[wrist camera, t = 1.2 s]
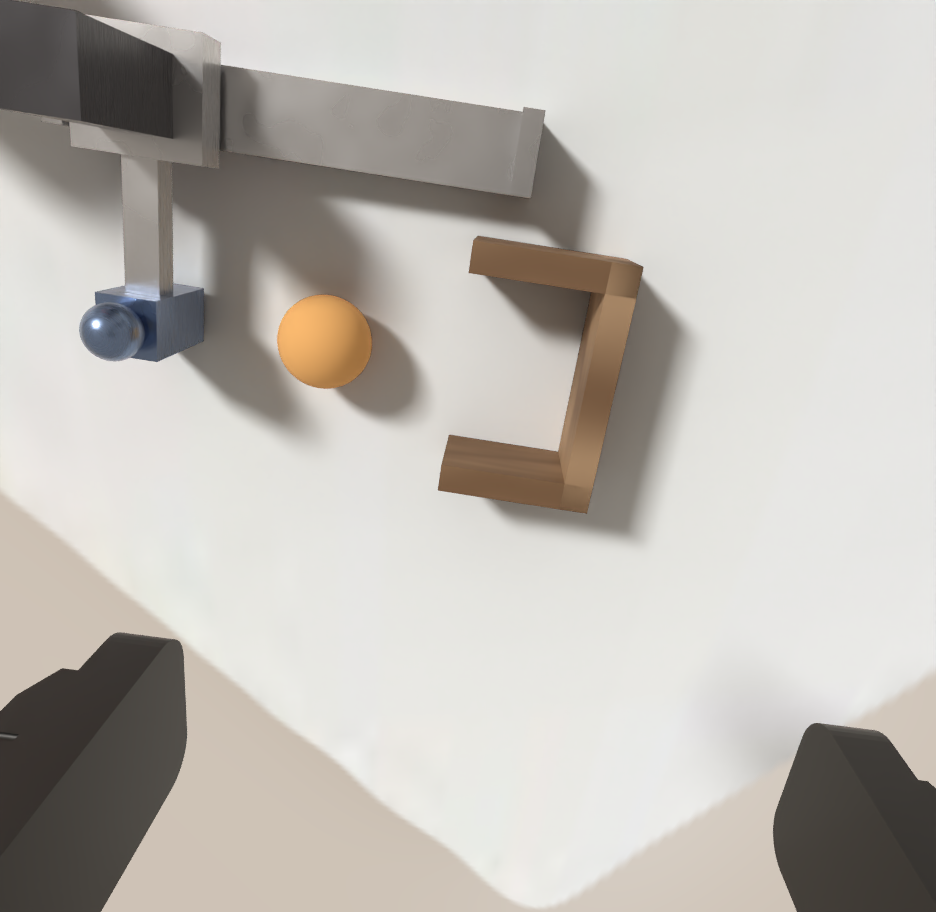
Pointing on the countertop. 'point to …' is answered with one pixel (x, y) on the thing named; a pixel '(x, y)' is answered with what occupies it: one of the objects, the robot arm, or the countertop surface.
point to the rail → (377, 131)
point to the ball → (324, 341)
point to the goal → (597, 369)
